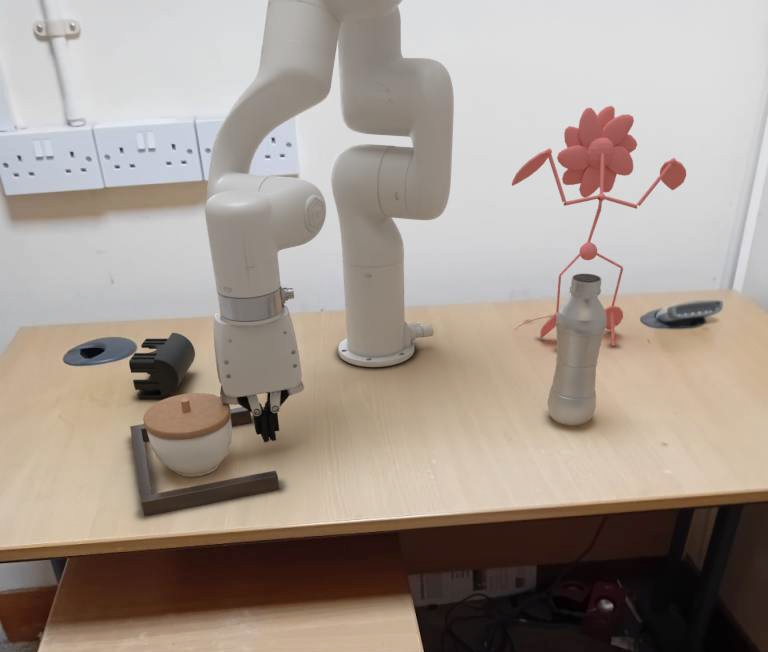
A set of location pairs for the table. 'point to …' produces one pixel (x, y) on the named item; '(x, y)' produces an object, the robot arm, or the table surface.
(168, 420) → the trinket box
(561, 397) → the plastic bottle
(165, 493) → the frame
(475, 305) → the table surface
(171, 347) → the end cap
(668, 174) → the figurine
